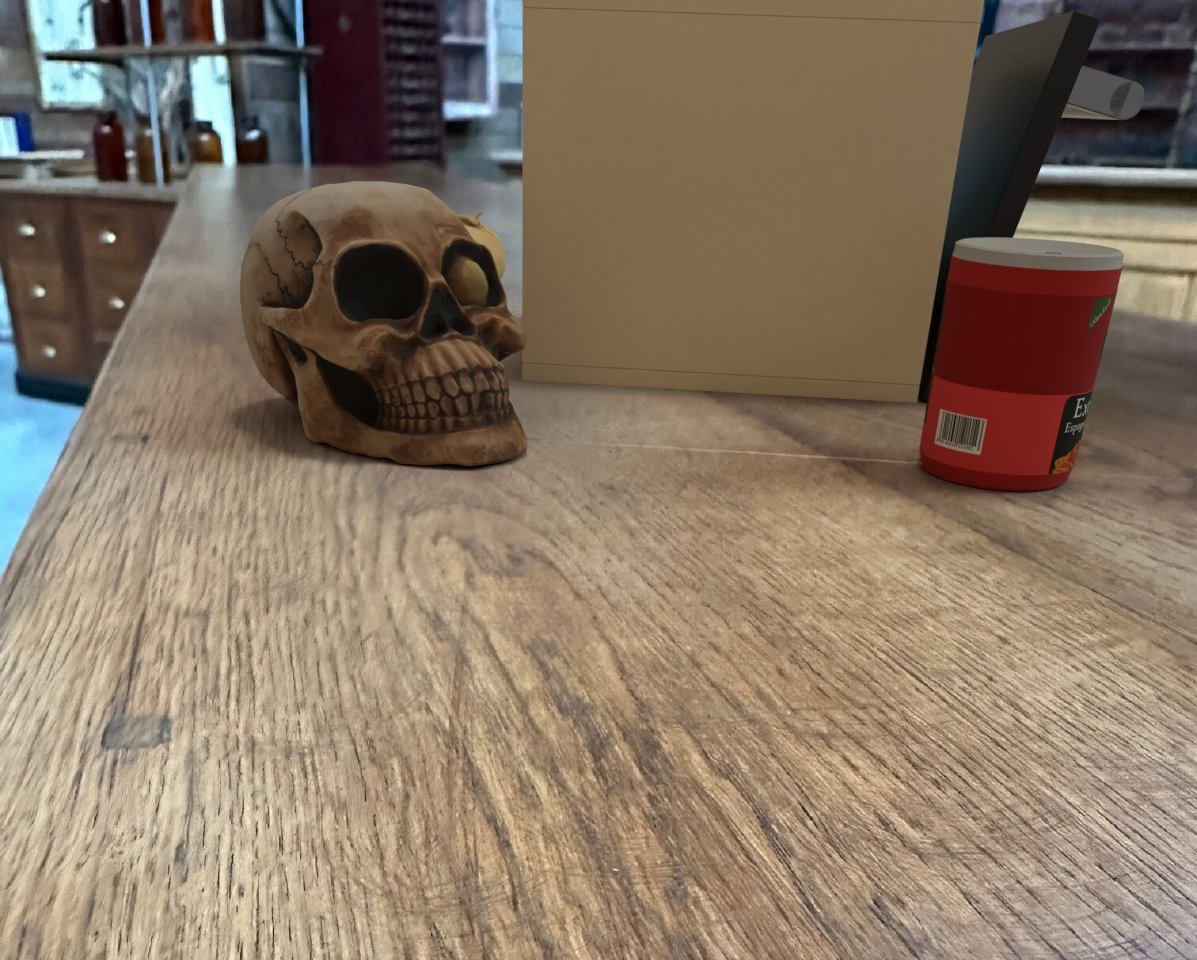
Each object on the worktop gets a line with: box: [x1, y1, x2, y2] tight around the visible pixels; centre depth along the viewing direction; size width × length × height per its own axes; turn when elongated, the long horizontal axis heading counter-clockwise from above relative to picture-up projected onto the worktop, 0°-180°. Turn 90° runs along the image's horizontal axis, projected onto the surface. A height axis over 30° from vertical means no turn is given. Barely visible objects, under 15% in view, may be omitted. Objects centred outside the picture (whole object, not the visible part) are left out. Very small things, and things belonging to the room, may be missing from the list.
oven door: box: [918, 10, 1145, 402], centre depth 83 cm, size 7×28×22 cm, turn 174°
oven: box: [521, 0, 985, 404], centre depth 84 cm, size 26×28×22 cm
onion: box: [455, 211, 506, 281], centre depth 111 cm, size 8×8×7 cm
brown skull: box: [239, 180, 528, 467], centre depth 64 cm, size 16×17×13 cm
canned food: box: [918, 237, 1125, 492], centre depth 60 cm, size 8×8×11 cm
